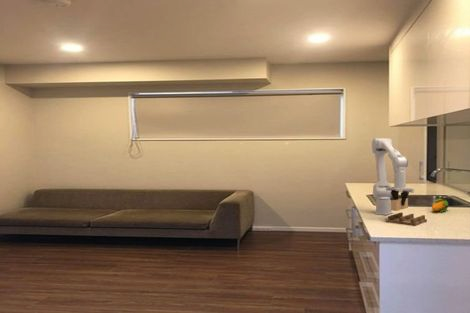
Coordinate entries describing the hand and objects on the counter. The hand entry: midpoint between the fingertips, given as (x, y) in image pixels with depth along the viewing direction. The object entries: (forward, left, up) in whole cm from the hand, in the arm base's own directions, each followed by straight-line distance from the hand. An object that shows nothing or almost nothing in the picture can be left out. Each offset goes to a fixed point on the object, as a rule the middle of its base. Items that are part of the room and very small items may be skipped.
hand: (399, 205), depth 231 cm
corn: (-44, +5, -9) cm, 45 cm away
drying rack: (0, +4, -9) cm, 9 cm away
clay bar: (0, 0, -2) cm, 2 cm away
